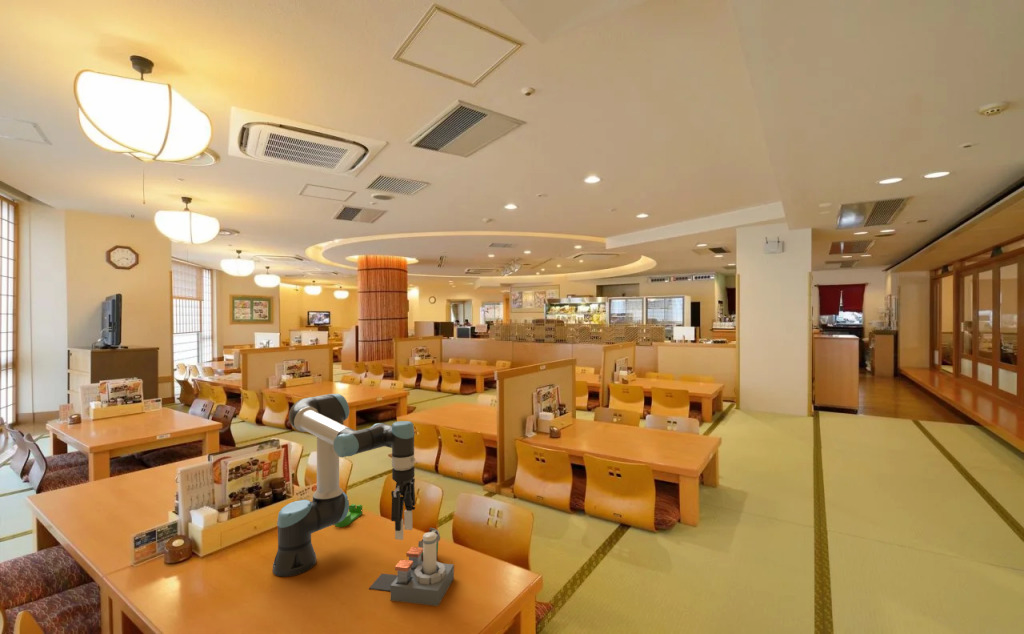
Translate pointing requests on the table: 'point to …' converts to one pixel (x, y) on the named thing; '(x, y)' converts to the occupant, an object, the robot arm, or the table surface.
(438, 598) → the housing
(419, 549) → the plunger
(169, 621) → the table surface
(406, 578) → the plunger
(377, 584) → the mat
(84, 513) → the table surface
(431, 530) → the food container
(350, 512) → the tape dispenser
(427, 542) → the cartridge
